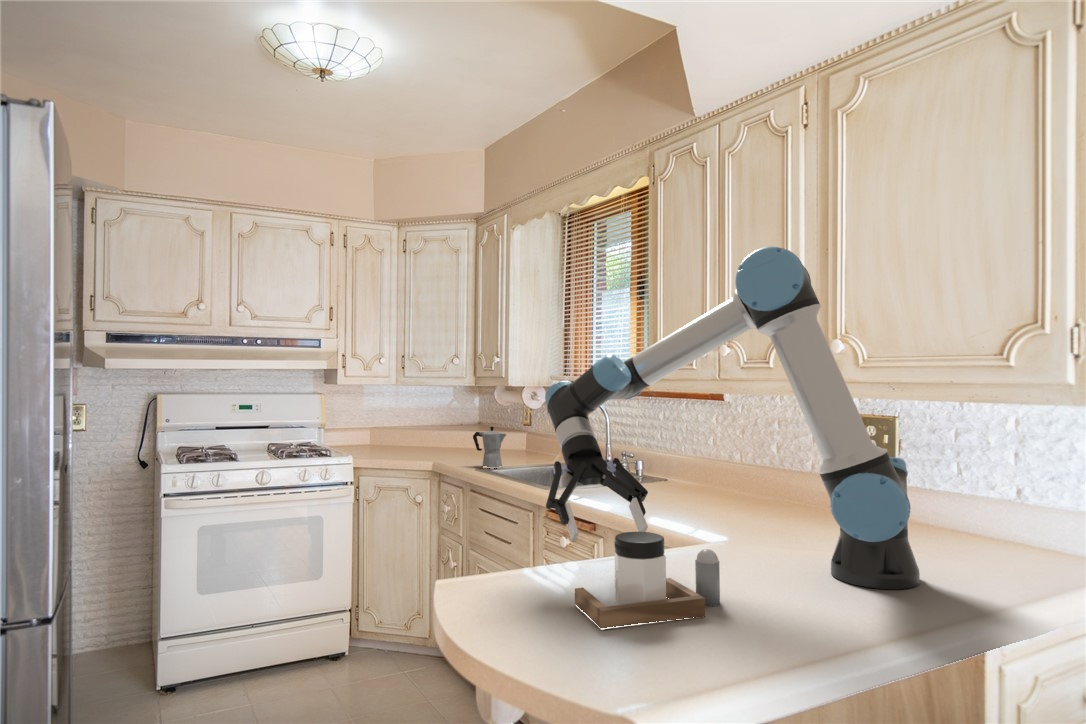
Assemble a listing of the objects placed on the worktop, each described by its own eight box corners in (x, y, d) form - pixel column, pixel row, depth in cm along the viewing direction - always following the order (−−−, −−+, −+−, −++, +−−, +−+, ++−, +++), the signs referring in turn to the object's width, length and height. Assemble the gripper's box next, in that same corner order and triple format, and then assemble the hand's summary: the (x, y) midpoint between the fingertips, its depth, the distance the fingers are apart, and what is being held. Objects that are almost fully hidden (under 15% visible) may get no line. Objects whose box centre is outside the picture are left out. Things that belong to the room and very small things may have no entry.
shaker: (724, 602, 114) (723, 549, 114) (711, 608, 111) (710, 553, 112) (704, 597, 117) (703, 545, 117) (691, 602, 114) (690, 549, 114)
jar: (612, 601, 115) (611, 531, 116) (659, 600, 115) (658, 530, 116) (618, 619, 106) (617, 543, 107) (670, 619, 106) (669, 543, 107)
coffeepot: (510, 467, 294) (509, 425, 294) (503, 469, 285) (503, 427, 285) (476, 466, 298) (476, 425, 298) (469, 468, 289) (469, 427, 289)
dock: (574, 606, 113) (574, 588, 113) (670, 595, 118) (670, 577, 118) (601, 630, 102) (601, 610, 102) (705, 616, 107) (705, 598, 107)
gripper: (629, 453, 143) (665, 539, 128) (516, 459, 135) (540, 552, 120) (639, 430, 138) (678, 516, 123) (523, 435, 130) (549, 528, 115)
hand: (610, 534), depth 122 cm, fingers open, 13 cm apart
